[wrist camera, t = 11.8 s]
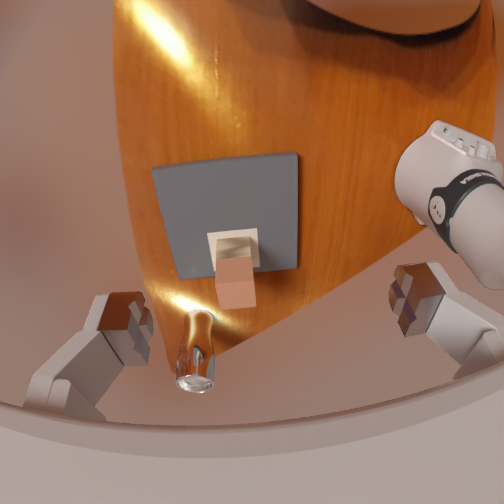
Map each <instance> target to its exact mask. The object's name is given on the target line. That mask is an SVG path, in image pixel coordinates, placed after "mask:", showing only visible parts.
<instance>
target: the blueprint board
mask: <svg viewBox="0 0 504 504" xmlns="http://www.w3.org/2000/svg"><path fill="white" fill-rule="evenodd" d="M151 172H152V176H153V181H154V185H155V189H156V193H157V197H158V202H159V206H160V210H161V214H162V217H163V221H164V225H165V229H166V233H167V237H168V240H169V244H170V248H171V251H172V255H173V258H174V262H175V265H176V269H177V272H178V276H179V279H191V278H202V277H213V276H215V272H216V241H217V239H225V238H235V237H245V236H249V240H250V250H251V257H252V267H253V273H256V272H266V271H277V270H287V269H296V268H297V236H298V155H297V153H296V152H290V153H275V154H262V155H250V156H239V157H229V158H220V159H211V160H203V161H195V162H187V163H180V164H173V165H166V166H160V167H153V169H152V170H151Z"/></svg>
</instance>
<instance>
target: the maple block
mask: <svg viewBox="0 0 504 504" xmlns="http://www.w3.org/2000/svg"><path fill="white" fill-rule="evenodd" d="M249 256H251V250H250V240H249V236H245V237H235V238H225V239H217V241H216V260H217V259H228V258H238V257H249Z"/></svg>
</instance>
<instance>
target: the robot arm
mask: <svg viewBox="0 0 504 504" xmlns="http://www.w3.org/2000/svg"><path fill="white" fill-rule="evenodd" d="M444 129H445V131H444ZM502 183H503V168H502V165H501V163H500V162H499V161H497V160H496V153H495V147H494V144H493V143H491V142H490V141H488V140H486V139H484V138H482V137H479V136H477V135H475V134H473V133H470V132H468V131H466V130H463V129H461V128H458V127H456V126H453V125H451V124H448V123H446V122H443V121H440V120H437V121H435V122H434V123H433V124H432V125H431V126H430V128H429V129H428V131H427V132H426V133H425V134H424V135H423V136H421V137H420V138H418V139H417V140H415V141H414V142H413V143H412V144H411V145H410V146H409V147H408V148H407V149H406V150H405V152H404V153H403V155H402V156H401V158H400V160H399V163H398V165H397V169H396V173H395V189H396V193H397V196H398V198H399V200H400V201H401V203H402V204H403V205H404V206H405V207H407V208H408V209H409V210H411V211H412V213H413V215H414V218H415V220H416V221H417V222H418V223H419V224H420V225H426V226H427V227H428V228H429V229H430V230H432V231H433V232H434V233H435V234H436V235H437V236H438V237H439V238H440V239H442V240H443V241H444V243H445V244H446V245H447V246H448V247H449V248H450V249H451V250H452V251H453V252H455V253H457V254H459V255H460V257H461V258H462V259H463V261H464V262H465V263H466V265H467V266H468V267H469V269H470V270H471V271H472V273H473V274H474V275H475V277H476V278H477V279H478V281H479V282H480V283H481V284H482V285H483V286H484V287H486V288H488V289H492V290H504V187H503V186H502ZM394 277H395V279H396V280H395V281H394V282H393V283H392V284H391V285H390V289H389V302H390V306H391V308H392V311H393V312H394V313H395V314H397V315H398V316H399V319H398V324H399V326H400V328H401V330H402V332H403V335H404V337H407V336H412V335H418V334H423V333H426V335H427V336H428V337H429V338H431V339H432V340H433V341H434V342H435V343H436V344H438V345H439V346H440V347H441V348H442V349H443V350H444V351H446V352H447V353H448V354H449V355H450V356H451V357H452V358H453V359H455V360H456V361H457V362H458V363H459V364H460V365H461V367H460V368H459V370H458V371H457V372H456V373H455V375H454V377H453V379H454V381H451V382H448V383H445V384H442V385H439V386H437V387H434V388H430V389H427V390H424V391H421V392H417V393H414V394H410V395H407V396H403V397H400V398H396V399H392V400H388V401H384V402H381V403H376V404H372V405H368V406H363V407H359V408H354V409H349V410H344V411H339V412H333V413H328V414H322V415H316V416H309V417H302V418H295V419H287V420H279V421H269V422H259V423H247V424H231V425H201V426H174V425H171V426H170V425H145V424H129V423H118V422H108V421H106V418H105V417H104V415H103V414H102V413H101V412H99V411H98V410H97V409H96V408H95V405H96V404H97V403H98V401H99V400H100V399H101V397H102V396H103V395H104V393H105V392H106V391H107V389H108V388H109V386H110V385H111V384H112V383H113V381H114V380H115V379H116V377H117V376H118V375H119V373H120V372H121V371H122V369H123V368H124V366H146V365H148V358H149V353H150V347H149V345H148V343H147V342H148V341H149V340H150V339H151V338H152V336H153V319H152V315H151V313H150V310H149V309H148V308H146V307H145V306H144V303H145V298H144V296H143V294H142V292H139V291H137V292H113V293H98V294H97V295H96V296H95V299H94V301H93V304H92V307H91V309H90V312H89V314H88V317H87V320H86V322H85V325H84V328H83V331H79V332H77V333H76V334H75V335H74V336H73V337H72V338H71V339H70V340H69V341H68V342H67V343H66V344H64V345H63V346H62V347H61V348H60V349H59V350H58V351H57V352H56V353H55V354H54V355H53V356H52V357H51V358H50V359H49V360H48V361H47V362H46V363H45V364H44V365H43V366H41V367H40V368H39V370H37V371H36V372H35V373H34V374H33V377H32V380H31V383H30V386H29V389H28V392H27V395H26V398H25V402H24V405H23V407H20V406H15V405H12V404H7V403H4V402H0V504H504V317H503V316H502V315H500V314H499V313H497V312H496V311H494V310H492V309H491V308H489V307H488V306H486V305H484V304H483V303H481V302H479V301H478V300H476V299H475V298H473V297H471V296H470V295H468V294H466V293H465V292H463V291H461V292H459V291H458V289H457V288H456V286H455V285H454V283H453V282H452V280H451V279H450V277H449V276H448V275H447V273H446V272H445V270H444V269H443V267H442V266H441V265H440V263H439V262H438V261H436V260H431V261H426V262H419V263H413V264H405V265H398V266H397V267H396V269H395V271H394Z"/></svg>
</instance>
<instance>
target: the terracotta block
mask: <svg viewBox="0 0 504 504" xmlns="http://www.w3.org/2000/svg"><path fill="white" fill-rule="evenodd" d="M215 286H216V291H217V296H218V300H219V305H220V310H225V309H236V308H247V307H256V298H255V287H254V277H253V267H252V257H251V256H249V257H238V258H228V259H217V260H216V272H215Z"/></svg>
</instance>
